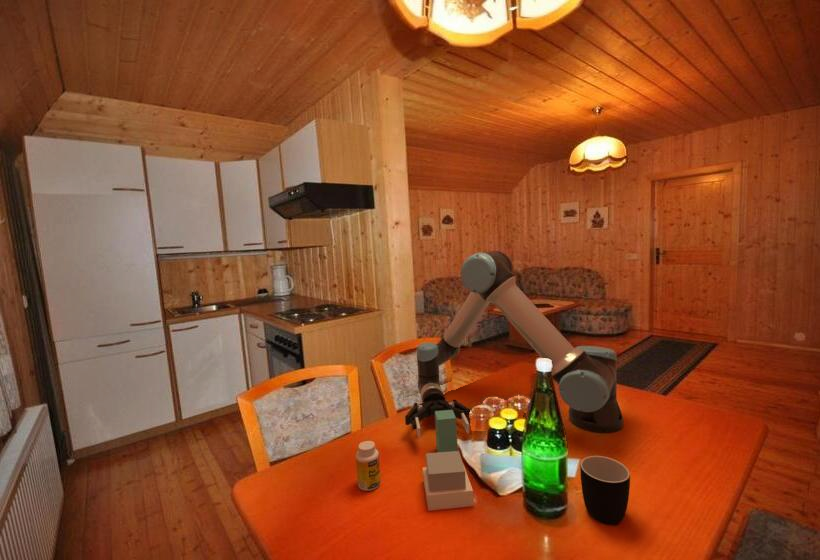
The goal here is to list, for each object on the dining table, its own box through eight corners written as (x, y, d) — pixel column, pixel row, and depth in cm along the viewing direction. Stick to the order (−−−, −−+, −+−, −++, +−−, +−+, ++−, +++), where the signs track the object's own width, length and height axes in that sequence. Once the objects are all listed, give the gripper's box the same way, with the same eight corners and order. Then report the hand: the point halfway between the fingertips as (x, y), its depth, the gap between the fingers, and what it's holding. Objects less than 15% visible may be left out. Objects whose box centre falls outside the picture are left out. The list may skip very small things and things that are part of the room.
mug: (639, 529, 72) (640, 480, 71) (594, 532, 72) (594, 484, 71) (605, 488, 84) (605, 446, 83) (566, 491, 84) (565, 449, 83)
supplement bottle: (370, 495, 86) (367, 454, 85) (353, 487, 89) (350, 447, 88) (385, 482, 91) (382, 442, 90) (368, 474, 94) (365, 436, 93)
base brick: (463, 478, 91) (463, 463, 90) (473, 507, 81) (472, 490, 81) (423, 482, 90) (422, 467, 90) (428, 512, 80) (427, 495, 80)
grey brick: (459, 466, 89) (458, 450, 89) (465, 488, 81) (465, 471, 81) (426, 469, 89) (425, 453, 89) (429, 491, 81) (428, 474, 81)
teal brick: (454, 446, 104) (452, 409, 103) (457, 457, 99) (456, 418, 98) (436, 448, 104) (434, 411, 103) (439, 459, 99) (437, 419, 98)
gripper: (470, 405, 124) (488, 439, 103) (396, 412, 122) (399, 448, 101) (469, 384, 123) (487, 413, 102) (394, 390, 122) (397, 421, 101)
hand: (443, 430), depth 102 cm, fingers open, 13 cm apart
